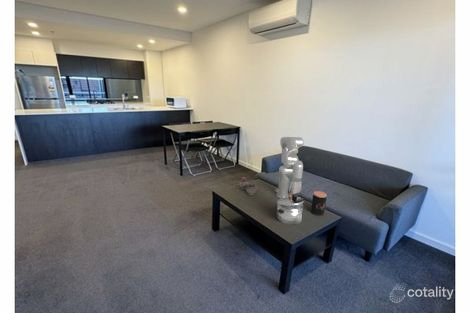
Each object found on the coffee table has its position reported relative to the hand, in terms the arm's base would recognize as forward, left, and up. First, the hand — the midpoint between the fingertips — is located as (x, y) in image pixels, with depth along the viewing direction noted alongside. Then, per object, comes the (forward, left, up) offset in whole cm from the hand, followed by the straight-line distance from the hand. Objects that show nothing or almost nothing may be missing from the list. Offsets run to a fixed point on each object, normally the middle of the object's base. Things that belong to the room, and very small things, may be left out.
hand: (294, 200), depth 175 cm
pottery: (-61, +5, -17) cm, 64 cm away
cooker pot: (-3, 0, -17) cm, 17 cm away
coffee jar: (+6, +27, -17) cm, 33 cm away
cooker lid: (-3, 0, -2) cm, 4 cm away
